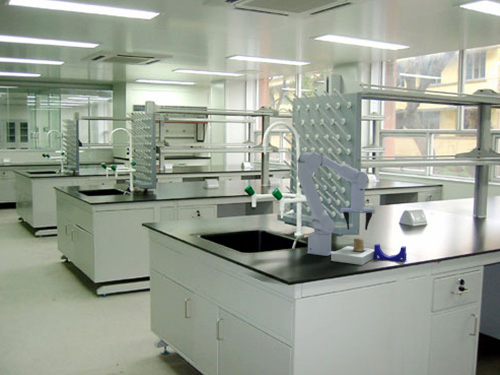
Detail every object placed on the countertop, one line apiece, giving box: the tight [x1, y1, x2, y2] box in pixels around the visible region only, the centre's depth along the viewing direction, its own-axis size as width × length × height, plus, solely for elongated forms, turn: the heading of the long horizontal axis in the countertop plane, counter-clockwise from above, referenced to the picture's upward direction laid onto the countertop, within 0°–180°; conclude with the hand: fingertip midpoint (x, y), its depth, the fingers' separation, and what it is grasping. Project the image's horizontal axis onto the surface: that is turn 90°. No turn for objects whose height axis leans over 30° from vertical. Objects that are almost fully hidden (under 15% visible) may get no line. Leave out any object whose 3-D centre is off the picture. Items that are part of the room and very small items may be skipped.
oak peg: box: [353, 237, 365, 253], centre depth 206 cm, size 4×4×8 cm
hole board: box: [330, 245, 375, 266], centre depth 206 cm, size 13×17×3 cm
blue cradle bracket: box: [373, 243, 407, 263], centre depth 204 cm, size 12×4×6 cm, turn 62°
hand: (357, 229), depth 221 cm, fingers open, 7 cm apart
